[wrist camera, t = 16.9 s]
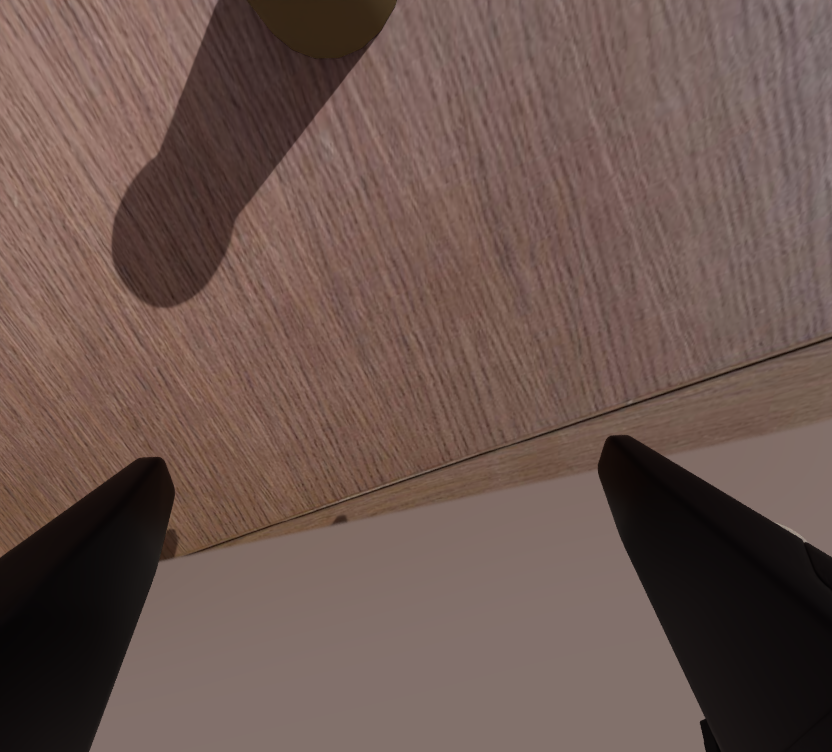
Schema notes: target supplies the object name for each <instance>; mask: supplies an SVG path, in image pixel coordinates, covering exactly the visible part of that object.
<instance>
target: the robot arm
mask: <svg viewBox="0 0 832 752" xmlns="http://www.w3.org/2000/svg"><path fill="white" fill-rule="evenodd" d="M598 474H599V478H600V481H601V483H602V486H603V489H604V492H605V495H606V498H607V501H608V504H609V506H610V509H611V512H612V515H613V518H614V521H615V524H616V527H617V529H618V532H619V535H620V537H621V540H622V542H623V544H624V547H625V549H626V551H627V553H628V555H629V557H630V560H631V562H632V564H633V566H634V568H635V570H636V572H637V574H638V576H639V579H640V581H641V583H642V585H643V587H644V589H645V591H646V593H647V596H648V598H649V600H650V602H651V604H652V606H653V608H654V610H655V612H656V615H657V617H658V619H659V621H660V623H661V625H662V627H663V629H664V632H665V634H666V636H667V638H668V640H669V642H670V644H671V646H672V648H673V651H674V653H675V655H676V657H677V659H678V661H679V663H680V665H681V667H682V669H683V672H684V674H685V676H686V678H687V680H688V682H689V684H690V687H691V689H692V691H693V693H694V695H695V697H696V699H697V701H698V703H699V705H700V708H701V710H702V712H703V714H704V716H705V718H706V719H704V720H702V721H700V725H701V730H702V734H703V738H704V745H705V750H706V752H832V557H831V556H829V555H827V554H826V553H824V552H822V551H820V550H819V549H817V548H816V547H814V546H812V545H811V544H809V543H807V542H805V543H804V542H803V540H802V539H801V538H799V537H797V536H796V535H794V534H792V533H791V532H789V531H787V530H786V529H784V528H782V527H781V526H779V525H777V524H776V523H774V522H772V521H771V520H769V519H767V518H766V517H764V516H762V515H761V514H759V513H757V512H755V511H754V510H752V509H751V508H749V507H747V506H746V505H744V504H742V503H741V502H739V501H737V500H736V499H734V498H732V497H731V496H729V495H727V494H726V493H724V492H722V491H720V490H719V489H717V488H716V487H714V486H712V485H711V484H709V483H707V482H706V481H704V480H702V479H701V478H699V477H697V476H696V475H694V474H692V473H691V472H689V471H687V470H686V469H684V468H682V467H680V466H679V465H677V464H675V463H674V462H672V461H670V460H669V459H667V458H666V457H664V456H662V455H661V454H659V453H657V452H656V451H654V450H652V449H651V448H649V447H647V446H646V445H644V444H642V443H641V442H639V441H637V440H636V439H634V438H632V437H631V436H628V435H613V436H609V437H608V438H607V439H606V441H605V444H604V447H603V450H602V453H601V457H600V460H599V463H598ZM174 497H175V489H174V485H173V482H172V479H171V476H170V474H169V471H168V468H167V466H166V463H165V461H164V460H163V459H162V458H161V457H143V458H138V459H137V460H135V461H133V462H132V463H131V464H129V465H128V466H127V467H125V468H124V469H122V470H121V471H120V472H118V473H117V474H115V475H114V476H113V477H111V478H110V479H109V480H107V481H106V482H104V483H103V484H102V485H100V486H99V487H97V488H96V489H95V490H93V491H92V492H91V493H89V494H88V495H86V496H85V497H84V498H82V499H81V500H79V501H78V502H77V503H75V504H74V505H73V506H71V507H70V508H68V509H67V510H66V511H64V512H63V513H61V514H60V515H59V516H57V517H56V518H55V519H53V520H52V521H50V522H49V523H48V524H46V525H45V526H43V527H42V528H41V529H39V530H38V531H37V532H35V533H34V534H32V535H31V536H30V537H28V538H27V539H25V540H24V541H23V542H21V543H20V544H19V545H17V546H16V547H14V548H13V549H12V550H10V551H9V552H7V553H6V554H5V555H3V556H2V557H1V558H0V752H89V750H90V748H91V745H92V742H93V740H94V737H95V734H96V732H97V729H98V726H99V724H100V721H101V718H102V716H103V713H104V710H105V708H106V705H107V702H108V700H109V697H110V694H111V692H112V689H113V686H114V683H115V681H116V678H117V676H118V673H119V670H120V667H121V665H122V662H123V659H124V657H125V654H126V651H127V649H128V646H129V643H130V641H131V638H132V635H133V633H134V630H135V627H136V624H137V622H138V619H139V616H140V614H141V611H142V608H143V606H144V603H145V600H146V597H147V595H148V592H149V589H150V587H151V584H152V581H153V578H154V576H155V572H156V569H157V566H158V562H159V558H160V554H161V550H162V546H163V542H164V538H165V534H166V530H167V526H168V522H169V518H170V514H171V510H172V506H173V502H174Z"/></svg>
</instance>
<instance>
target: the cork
mask: <svg viewBox="0 0 832 752" xmlns="http://www.w3.org/2000/svg"><path fill="white" fill-rule="evenodd" d="M247 1H248V2H249V4H250V5H251V6H252V8H253V9H254V10H255V11H256V13H257V14H258V15H259V17H260V18H261V19H262V20H263V22H264V23H265V24H266V26H267V27H268V28H269V29H270V31H271V32H272V33H273V34H274V35H275V36H276V37H278V38H279V39H280V40H281V41H282V42H284V43H285V44H286V45H287V46H288V47H290V48H291V49H292V50H294V51H297V52H299V53H302V54H305V55H307V56H310V57H313V58H340V57H343V56H345V55H347V54H350V53H352V52H354V51H357V50H359V49H361V48H363V47H364V46H365V45H366V44H367V43H368V42H369V41H370V40H371V39H372V38H373V37H374V36H376V35H377V34H378V33H379V32H380V31H381V29H382V28H383V26H384V24H385V23H386V21H387V19H388V17H389V16H390V14H391V12H392V10H393V9H394V7H395V5H396V1H397V0H247Z"/></svg>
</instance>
